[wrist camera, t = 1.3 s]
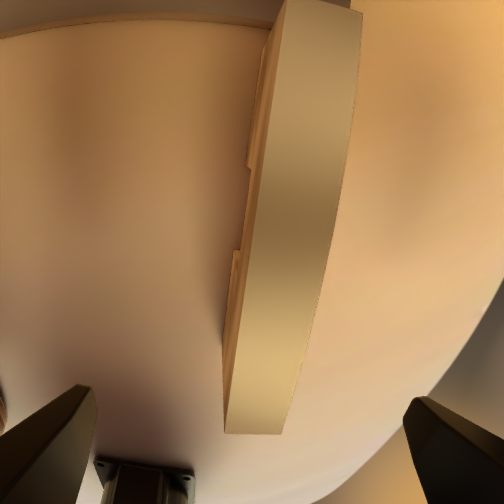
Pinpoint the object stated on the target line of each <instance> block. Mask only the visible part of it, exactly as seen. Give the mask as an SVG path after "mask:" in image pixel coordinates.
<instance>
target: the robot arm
mask: <svg viewBox="0 0 504 504" xmlns="http://www.w3.org/2000/svg"><path fill="white" fill-rule="evenodd" d="M96 418H97V406H96V402H95V397H94V392H93V389H92V387H90V386H87V385H82V384H76V385H74V386H73V387H72V388H70V389H69V390H67V391H66V392H64V393H63V394H61V395H60V396H58V397H57V398H56V399H54V400H53V401H51V402H50V403H48V404H47V405H45V406H44V407H42V408H41V409H39V410H38V411H37V412H35V413H34V414H32V415H31V416H29V417H28V418H26V419H25V420H23V421H22V422H20V423H19V424H17V425H16V426H14V427H13V428H12V429H10V430H9V431H7V432H6V433H4V434H3V435H1V436H0V504H76V500H77V497H78V493H79V490H80V486H81V483H82V480H83V476H84V473H85V470H86V466H87V463H88V458H89V453H90V447H91V442H92V437H93V432H94V427H95V422H96ZM403 426H404V430H405V433H406V437H407V440H408V444H409V448H410V452H411V456H412V460H413V463H414V466H415V469H416V471H417V474H418V477H419V480H420V483H421V485H422V488H423V491H424V494H425V497H426V500H427V503H428V504H504V440H503V439H502V438H500V437H498V436H496V435H494V434H492V433H491V432H488V431H487V430H485V429H483V428H481V427H480V426H478V425H476V424H474V423H472V422H471V421H469V420H467V419H465V418H464V417H462V416H460V415H458V414H456V413H455V412H453V411H451V410H449V409H447V408H446V407H444V406H442V405H441V404H439V403H437V402H435V401H434V400H432V399H430V398H429V397H427V396H421V397H416V398H414V399H413V400H412V401H411V403H410V405H409V407H408V409H407V411H406V412H405V414H404V416H403ZM93 463H94V466H95V469H96V471H97V474H98V476H99V479H100V481H101V484H102V486H103V489H104V491H103V495H102V500H101V504H194V487H195V474H194V472H192V471H190V470H182V469H173V468H165V467H157V466H150V465H144V464H138V463H132V462H126V461H121V460H116V459H111V458H107V457H102V456H96V457H95V458H94V462H93Z"/></svg>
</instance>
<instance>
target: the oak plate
mask: <svg viewBox="0 0 504 504" xmlns="http://www.w3.org/2000/svg"><path fill="white" fill-rule="evenodd" d="M362 19H363V13H360V12H357V11H354V10H351V9H348V8H345V7H341V6H338V5H334V4H331V3H327V2H323V1H319V0H285V1H284V3H283V5H282V8H281V10H280V12H279V14H278V16H277V19H276V21H275V23H274V25H273V28H272V30H271V32H270V34H269V37H268V39H267V41H266V43H265V46H264V48H263V50H262V55H261V61H260V68H259V74H258V81H257V87H256V94H255V101H254V107H253V114H252V121H251V128H250V135H249V142H248V149H247V156H246V163H245V166H247V167H248V168H250V169H251V176H250V183H249V190H248V198H247V205H246V212H245V219H244V227H243V234H242V241H241V249H240V251H239V250H234V252H233V260H232V268H231V276H230V284H229V292H228V300H227V309H226V317H225V325H224V334H223V342H222V371H223V408H224V433H229V434H281V433H282V430H283V426H284V423H285V420H286V417H287V414H288V410H289V407H290V404H291V400H292V397H293V394H294V390H295V387H296V383H297V380H298V376H299V373H300V369H301V366H302V362H303V358H304V355H305V351H306V347H307V343H308V339H309V336H310V332H311V328H312V324H313V320H314V316H315V312H316V308H317V303H318V299H319V295H320V291H321V286H322V282H323V278H324V273H325V269H326V264H327V260H328V255H329V250H330V245H331V240H332V236H333V231H334V226H335V220H336V215H337V210H338V205H339V199H340V193H341V188H342V182H343V176H344V170H345V164H346V158H347V151H348V145H349V138H350V131H351V124H352V117H353V109H354V101H355V93H356V84H357V75H358V66H359V56H360V45H361V32H362Z"/></svg>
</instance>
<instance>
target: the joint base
mask: <svg viewBox="0 0 504 504" xmlns="http://www.w3.org/2000/svg"><path fill="white" fill-rule="evenodd" d="M284 1H285V0H0V39H3V38H7V37H11V36H15V35H20V34H24V33H29V32H33V31H39V30H44V29H49V28H55V27H62V26H69V25H76V24H85V23H94V22H106V21H121V20H189V21H205V22H217V23H227V24H236V25H244V26H251V27H258V28H264V29H270V30H272V28H273V25H274V23H275V21H276V19H277V16H278V14H279V12H280V10H281V8H282V5H283V3H284ZM319 1H323V2H327V3H331V4H334V5H338V6H341V7H345V8H348V9H350V1H351V0H319Z"/></svg>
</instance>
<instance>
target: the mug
mask: <svg viewBox="0 0 504 504" xmlns="http://www.w3.org/2000/svg"><path fill="white" fill-rule="evenodd" d="M6 423H7V413H6V409H5V406H4V403H3V401H2V398H1V396H0V436H1V435H2V434H3V432H4V428H5V426H6Z"/></svg>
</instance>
